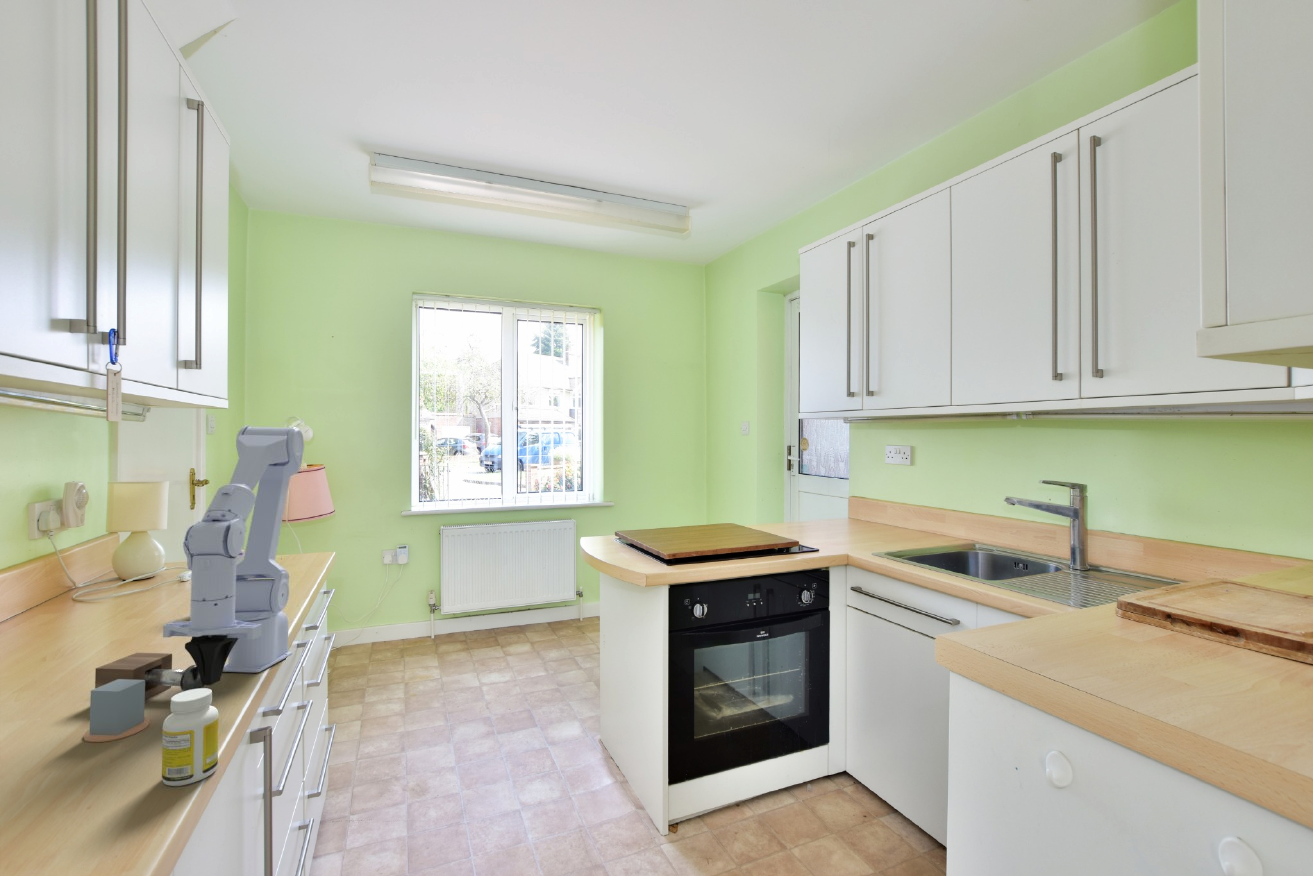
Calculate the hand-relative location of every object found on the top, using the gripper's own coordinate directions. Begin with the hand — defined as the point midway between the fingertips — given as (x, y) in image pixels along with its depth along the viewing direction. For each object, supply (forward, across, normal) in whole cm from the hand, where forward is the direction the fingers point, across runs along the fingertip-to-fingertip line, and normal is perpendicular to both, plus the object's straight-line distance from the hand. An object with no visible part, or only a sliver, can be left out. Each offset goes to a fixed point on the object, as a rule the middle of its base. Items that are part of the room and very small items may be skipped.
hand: (211, 682), depth 94 cm
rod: (+1, -6, 0) cm, 6 cm away
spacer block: (+2, -5, -11) cm, 12 cm away
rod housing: (+2, -12, 0) cm, 13 cm away
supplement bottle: (+3, +14, -21) cm, 26 cm away
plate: (+2, -5, -11) cm, 12 cm away
